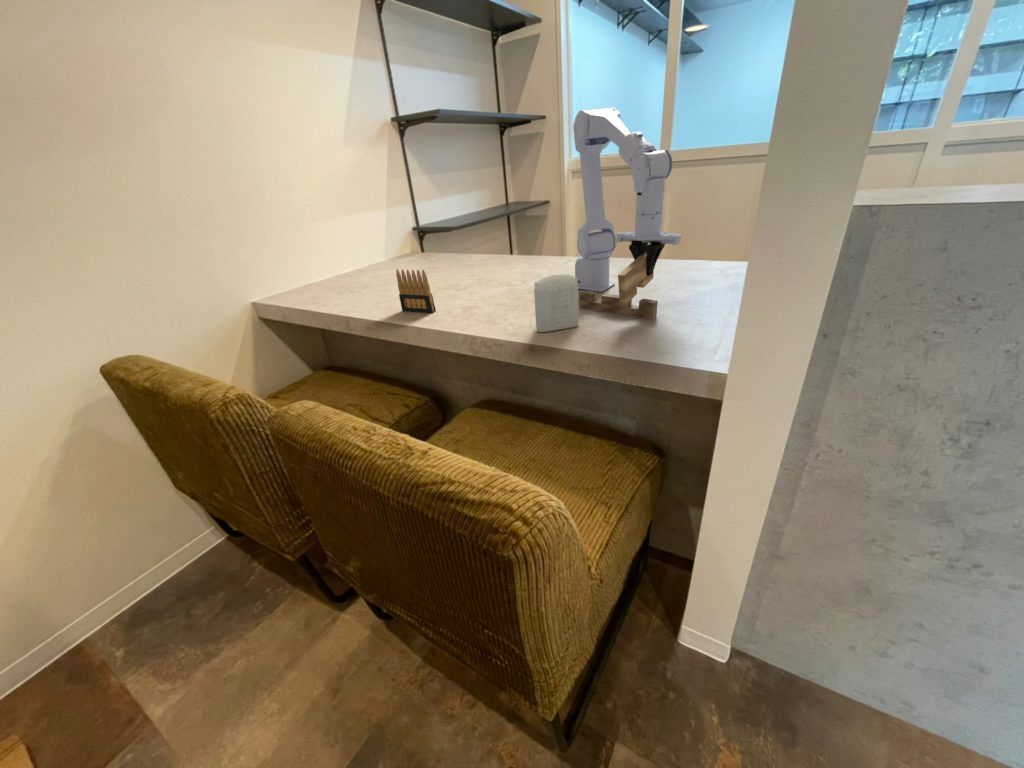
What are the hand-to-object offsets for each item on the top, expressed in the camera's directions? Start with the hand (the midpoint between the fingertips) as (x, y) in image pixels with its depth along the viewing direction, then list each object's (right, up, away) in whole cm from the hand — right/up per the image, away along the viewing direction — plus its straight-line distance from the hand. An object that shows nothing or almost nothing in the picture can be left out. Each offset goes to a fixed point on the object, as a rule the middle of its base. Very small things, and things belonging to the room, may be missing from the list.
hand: (645, 274), depth 98 cm
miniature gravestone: (-21, -13, -1) cm, 25 cm away
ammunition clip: (-58, -5, +20) cm, 62 cm away
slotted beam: (-6, -8, +4) cm, 11 cm away
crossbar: (-2, -4, -1) cm, 5 cm away
